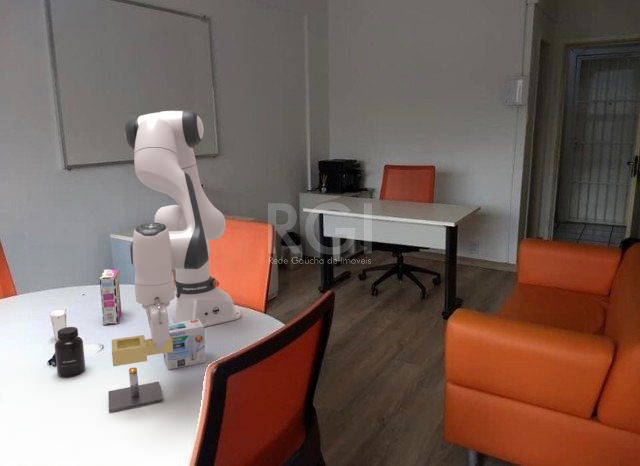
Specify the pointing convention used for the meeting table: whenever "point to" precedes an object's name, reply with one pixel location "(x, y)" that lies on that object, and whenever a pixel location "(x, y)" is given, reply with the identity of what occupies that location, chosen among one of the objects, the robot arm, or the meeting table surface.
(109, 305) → the candy bar box
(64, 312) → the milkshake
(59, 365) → the supplement bottle
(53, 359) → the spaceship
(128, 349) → the wooden frame
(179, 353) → the light bulb box
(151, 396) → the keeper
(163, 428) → the meeting table surface
